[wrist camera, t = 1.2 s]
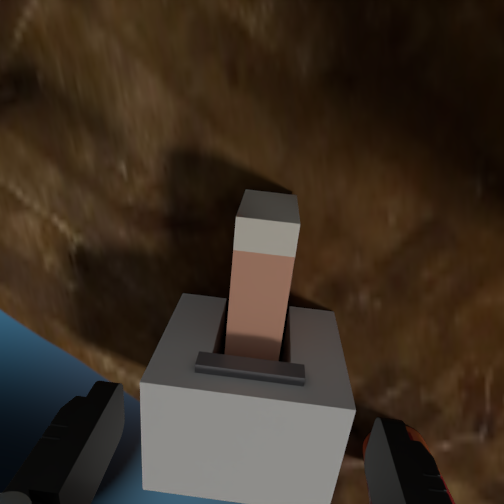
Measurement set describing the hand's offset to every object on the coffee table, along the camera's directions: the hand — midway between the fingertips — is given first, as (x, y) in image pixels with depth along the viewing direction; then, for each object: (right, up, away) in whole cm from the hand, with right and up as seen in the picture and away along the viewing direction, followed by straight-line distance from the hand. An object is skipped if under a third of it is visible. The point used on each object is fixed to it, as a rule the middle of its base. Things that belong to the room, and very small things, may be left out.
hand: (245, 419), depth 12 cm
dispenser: (0, -3, +20) cm, 20 cm away
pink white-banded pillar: (+1, +2, +18) cm, 18 cm away
